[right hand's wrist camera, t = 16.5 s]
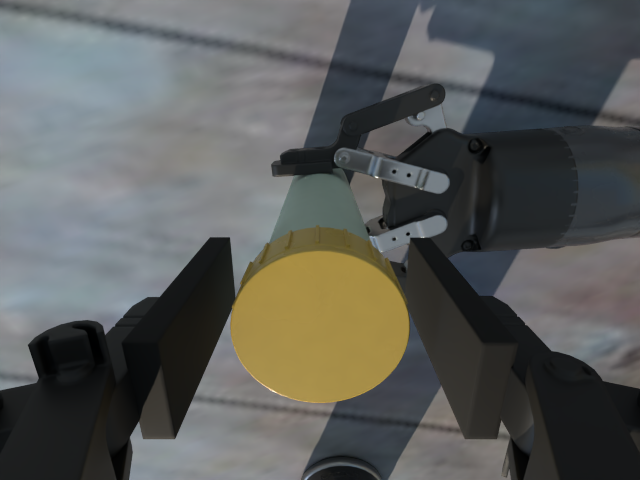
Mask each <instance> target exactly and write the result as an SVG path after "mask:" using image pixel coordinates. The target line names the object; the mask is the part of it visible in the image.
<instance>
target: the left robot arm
mask: <svg viewBox="0 0 640 480" xmlns="http://www.w3.org/2000/svg"><path fill="white" fill-rule="evenodd" d="M444 98H445V90H444V88H443V86H441V85H440V84H430V85H425V86H421V87H418V88H416V89H413V90H410V91H408V92H405V93H402V94H400V95H397V96H395V97H392V98H389V99H387V100H384V101H382V102H379V103H376V104H374V105H371V106H368V107H366V108H363V109H361V110H358V111H355V112H353V113H350V114H348V115H345V116H344V117H343V118H342V120H341V127H340V131H339V134H338V137H337V140H336V141H335V143H333V144H332V145H330V146H327V147H314V148H300V149H289V150H287V151H285V152H283V153H282V154H281V155H280V160H279V161H274V162H273V163H272V164H271V167H272V175H273V176H274V177H281V176H295V175H310V174H324V173H333V169H336V168H343V169H347V170H351V171H355V172H359V173H363V174H367V175H370V176H372V177H375V178H379V179H382V185H383V189H384V192H385V201H384V204H383V215H382V216H379V217H376V218H374V219H371V220H369V221H368V222H367V223H366V224H364V225H365V227H366V230H367V233H368V235H369V238H370V241H371V242H372V245H373V246H374V247H375V248H376V249H377V250H378V251H379V252H380V253H383V252H386V251H389V250H392V249H394V248H397V247H400V246H403V245H405V244H407V245H409V244H410V237H430V238H431V239H432V241H433V242H434V243H435V244H436V245H437V246H438V248H439V249H440V250H441V251H442V252H443V254H444V255H445V256H446V257H447V258H449V257H450V256H452V255H454V254H456V253H459V252H466V251H467V252H486V251H501V250H516V249H532V248H550V249H557V248H561V247H565V246H578V245H587V244H593V243H599V242H604V241H608V240H614V239H624V238H639V237H640V126H629V127H605V126H566V127H558V128H545V129H529V130H516V131H502V132H489V133H475V134H461V133H459V132H457V131H455V130H453V129H450V128H447V126H446V121H445V117H444V113H443V108H442V104H441V103H442V102H443V101H444ZM404 118H405V121H406V122H407V123H408V124H409V125H412V126H421V125H423V126H424V127H426V129H427V131H428V132H427V133H426V134H425V135H423V136H422V137H421V138H420V139H418V140H417V141H416V142H415V143H413V144H412V145H411V146H410V147H409V148H407V149H406V150H405V151H404V152H402V153H401V154H400V155H399V156H397V157H396V156H392V155H388V154H384V153H380V152H376V151H371V150H366V149H362V148H358V147H357V146H358V143H359V140H360V136H361V134H364V133H366V132H369V131H372V130H374V129H377V128H380V127H382V126H385V125H388V124H390V123H393V122H396V121H398V120H401V119H404ZM390 263H391V266H392V268H393V270H394V272H395V275H396V277H397V280H398V281H399V283H400V286H401V288H402V290H403V292H404V294H405V288H406V277H407V266H408V260H407V261H405V263H404V264H402V263H397V262H392V261H390ZM301 480H382V478H381V476H380V474H379V473H378V471H377V470H376V469H375V468H374V467H373V466H371V465H370V464H368V463H366V462H364V461H362V460H359V459H355V458H350V457H334V458H329V459H325V460H322V461H320V462H318V463H316V464H314V465H313V466H311V467H310V468H309V469H308V470H307V471H306V472H305V473H304V475H303V476H302V478H301Z"/></svg>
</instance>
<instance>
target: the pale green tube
mask: <svg viewBox="0 0 640 480" xmlns="http://www.w3.org/2000/svg"><path fill="white" fill-rule="evenodd" d="M316 225H319V227H328V228H335V229H341V230H343V229H344V228H345V229H347V232H350V233H353V234H355V235H357V236H359V237H361V238H363V239H364V240H366V241H368V240H370V238H369V235H368V233H367V230H366V227H365V225H364V222H363V220H362V217H361V214H360V212H359V209H358V206H357V204H356V201H355V198H354V196H353V193H352V190H351V188H350V185H349V182H348V180H347V177H346V175H345V173H344V171H343V169H342V168H336V169H333V173H324V174H310V175H295V176H294V178H293V181H292V183H291V186H290V189H289V191H288V194H287V197H286V199H285V202H284V205H283V207H282V210H281V213H280V215H279V218H278V221H277V223H276V226H275V229H274V231H273V234H272V237H271V239H270V242H269V244H270V243H272V242H273V241H275V240H276V239H278V238H280V237H282V236H284V235H286V234H288V231H290V230H292V232H293V231H296V230H300V229H305V228H314V227H316Z"/></svg>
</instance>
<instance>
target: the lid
mask: <svg viewBox="0 0 640 480" xmlns="http://www.w3.org/2000/svg"><path fill="white" fill-rule="evenodd" d="M240 284H242V285H241V287H240V289H239V292H238V294H237V296H236V298H235V301H234V303H233V305H232V309H233V310H232V315H231V336H232V341H233V345H234V348H235V351H236V353H237V355H238V357H239V359H240V361H241V363H242V364H243V365H244V367H245V368H246V370H247V371H248V372H249V373H250V374H251V375H252V376H253V377H254V378H255V379H256V380H257V381H258V382H260V383H261V384H262V385H264V386H265V387H267V388H268V389H270V390H272V391H274V392H276V393H278V394H280V395H282V396H285V397H288V398H291V399H295V400H299V401H305V402H315V403H326V402H336V401H342V400H346V399H349V398H353V397H356V396H358V395H361V394H363V393H365V392H367V391H369V390H371V389H372V388H374V387H375V386H377V385H378V384H380V383H381V382H382V381H383V380H384V379H386V378H387V377H388V376H389V375H390V374H391V372H392V371H393V370H394V369H395V368H396V366H397V365H398V363H399V362H400V360H401V358H402V356H403V354H404V352H405V350H406V347H407V343H408V340H409V333H410V318H409V312H408V308H407V305H406V304H408V302H407V299H406V297H405V295H404V292H403V290H402V288H401V286H400V283H399V281H398V280H397V277H396V275H395V272H394V270H393V268H392V266H391V263H390V261H389V259H388V258H386V259H385V258H384V257H383V255H382V254H381V253H380V252H379V251H378V250H377V249H376V248H375V247H374V246H373V245H372V242H371V241H370V240H368V241H366V240H364V239H363V238H361V237H359V236H357V235H355V234H353V233H350V232H347V229H345V228H344V229H343V230H341V229H335V228H328V227H319V225H316V227H314V228H305V229H300V230H296V231H293V232H292V230H290V231H288V234H286V235H284V236H282V237H280V238H278V239H276V240H275V241H273V242H272V243H270V244H269V243H267V244H265V247H264V249H263V250H262V251H261V252H260V254H259V255H258V256H257V257H256V259H255V260H254V262H253V263H252V262H250V263H249V265H248V267H247V270H246V272H245V274H244V276H243V278H242V281H241V283H240Z"/></svg>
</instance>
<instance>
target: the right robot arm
mask: <svg viewBox="0 0 640 480" xmlns="http://www.w3.org/2000/svg"><path fill="white" fill-rule="evenodd" d="M405 297H406V299H407V302H408V304H406V305H407V307H408V310H409V312H410V314H411V317H412V319H413V321H414V324H415V326H416V328H417V330H418V333H419V335H420V337H421V340H422V342H423V344H424V346H425V349H426V351H427V353H428V356H429V358H430V360H431V362H432V365H433V367H434V369H435V372H436V374H437V376H438V378H439V381H440V383H441V385H442V388H443V390H444V392H445V394H446V397H447V399H448V401H449V404H450V406H451V408H452V411H453V413H454V415H455V417H456V420H457V422H458V424H459V427H460V429H461V431H462V433H463V436H464V438H465V439H497V436H498V432H499V427H500V423H501V420H502V422H503V423H504V425H505V427H506V429H507V430H508V432H509V434H510V435H511V436H510V440H509V444H508V448H507V452H506V457H505V461H504V465H503V470H502V476H503V477H506V478H507V475H508V471H509V469H510V475H511V480H640V389H638V388H633V387H628V386H623V385H619V384H614V383H609V382H605V381H602V379H601V377H600V376H599V375H598V374H597V372H596V371H595V370H594V369H593V368H591V367H590V366H589V365H587V364H586V363H584V362H583V361H581V360H579V359H576V358H574V357H572V356H570V355H566V354H563V353H559V352H553V351H551V350H550V349H549V348H548V347H547V346H546V345H545V344H544V343H543V342H542V341H541V340H540V338H539V337H538V336H537V335H536V334H535V333H534V332H533V331H532V330H531V329H530V328H529V327H528V326H527V325H525V323H524V322H523V321H522V320H521V318H520V317H517V314H516V313H515V312H514V311H513V310H512V309H511V308H510V307H509V306H508V305H507V304H505V303H504V302H502V301H500V300H498V299H497V298H495V297H493V296H479V295H478V294H477V293H476V292H475V290H474V289H473V288H472V287H471V286H470V284H469V283H468V282H467V281H466V280H465V278H464V277H463V276H462V275H461V274H460V273H459V271H458V270H457V269H456V268H455V267H454V265H453V264H452V263H451V262H450V261H449V260H448V258H447V257H446V256H445V255H444V254H443V252H442V251H441V250H440V249H439V248H438V246H437V245H436V244H435V243H434V242H433V241H432V239H431V238H430V237H410V244H409V255H408V266H407V277H406V288H405ZM234 301H235V288H234V277H233V266H232V255H231V244H230V237H210V238H209V239H208V241H207V242H206V243H205V244H204V245H203V246H202V248H201V249H200V250H199V251H198V252H197V254H196V255H195V256H194V257H193V258H192V260H191V261H190V262H189V263H188V264H187V265H186V267H185V268H184V269H183V270H182V271H181V273H180V274H179V275H178V276H177V277H176V278H175V280H174V281H173V282H172V283H171V284H170V286H169V287H168V288H167V289H166V290H165V292H164V293H163V294H162V295H161V296H160V297H147V298H146V299H144V300H142V301H140V302H139V303H137V304H135V305H134V306H132V307H131V308H130V309H129V311H128V312H127V313H126V314H125V315H124V316H123V318H121V319H120V320H119V321H118V322H117V323H116V324H115V327H113V328H112V329H111V330H110V331H109V332H108V333H107V334H106V335H105V333H104V329H103V326H102V325H101V324H100V323H98V322H95V321H89V320H84V321H74V322H70V323H66V324H61V325H59V326H56V327H54V328H51V329H49V330H47V331H45V332H43V333H42V334H40V335H38V336H37V337H35V338H34V339H33V340H32V341H31V342H30V343H29V344H28V347H29V350H30V353H31V356H32V359H33V362H34V365H35V368H36V371H37V374H38V377H39V379H38V381H37V383H34V384H30V385H25V386H20V387H15V388H10V389H5V390H1V391H0V480H129V476H130V468H131V461H132V453H133V451H132V444H131V440H130V436H131V434H132V432H133V430H134V429H135V427H136V425H137V424H138V422H139V423H140V427H141V432H142V436H143V439H175V438H176V436H177V433H178V431H179V429H180V427H181V424H182V422H183V420H184V417H185V415H186V413H187V411H188V408H189V406H190V404H191V401H192V399H193V397H194V395H195V392H196V390H197V388H198V385H199V383H200V381H201V378H202V376H203V374H204V372H205V369H206V367H207V365H208V362H209V360H210V358H211V356H212V353H213V351H214V349H215V346H216V344H217V342H218V340H219V337H220V335H221V333H222V330H223V328H224V326H225V324H226V321H227V319H228V317H229V314H230V312H231V310H232V305H233V303H234Z"/></svg>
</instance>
